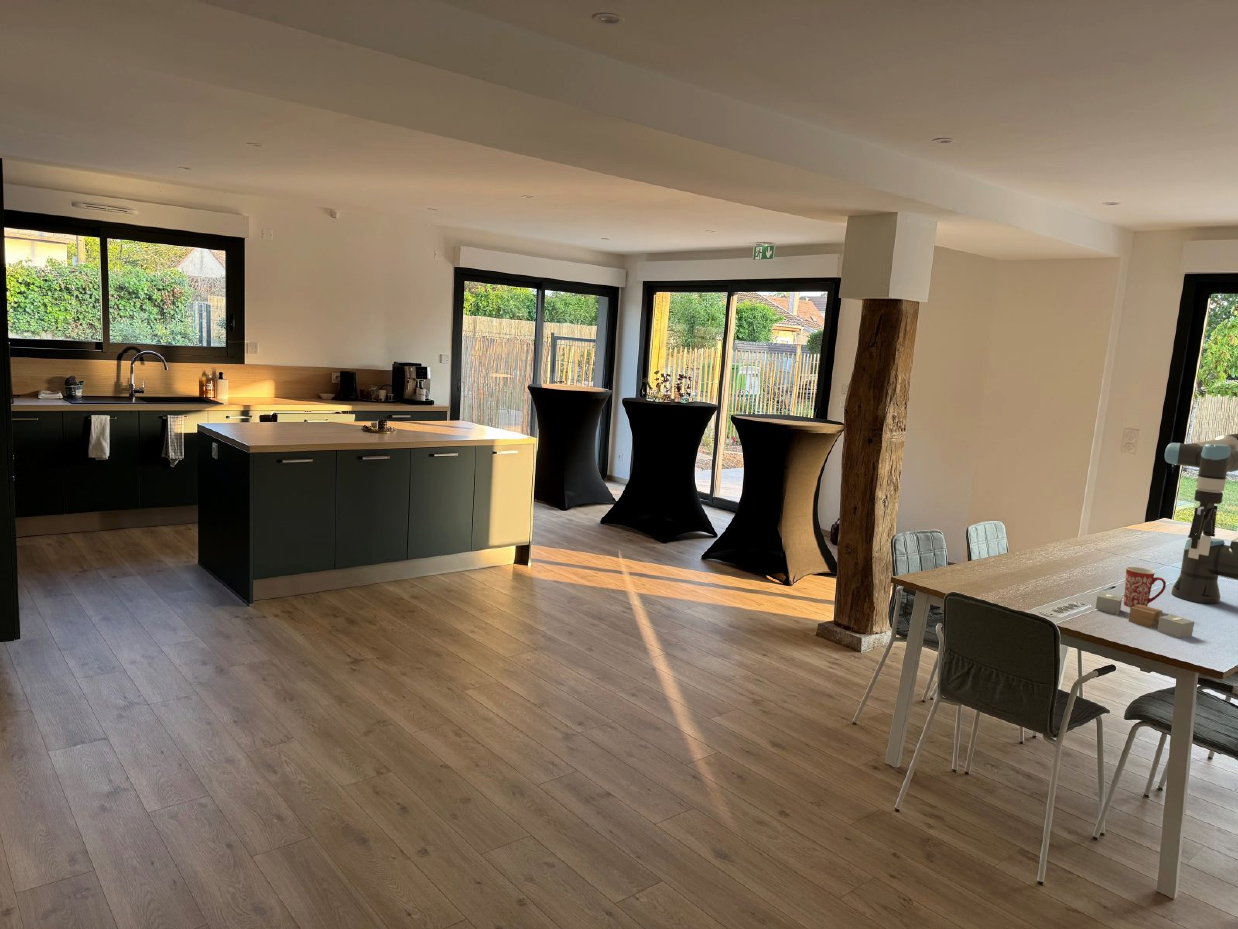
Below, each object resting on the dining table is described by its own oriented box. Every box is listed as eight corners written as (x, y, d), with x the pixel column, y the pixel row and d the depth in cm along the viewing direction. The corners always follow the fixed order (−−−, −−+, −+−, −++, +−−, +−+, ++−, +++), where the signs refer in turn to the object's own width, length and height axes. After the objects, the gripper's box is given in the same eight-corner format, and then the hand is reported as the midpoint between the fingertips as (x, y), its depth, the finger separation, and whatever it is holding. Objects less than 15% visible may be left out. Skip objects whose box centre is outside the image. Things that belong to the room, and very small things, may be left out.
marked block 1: (1097, 605, 296) (1099, 591, 295) (1120, 610, 292) (1122, 596, 291) (1095, 610, 290) (1097, 595, 289) (1118, 614, 286) (1120, 600, 285)
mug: (1119, 606, 296) (1125, 569, 294) (1121, 600, 303) (1126, 564, 301) (1161, 614, 289) (1167, 577, 287) (1161, 608, 296) (1167, 572, 294)
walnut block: (1137, 618, 283) (1139, 604, 282) (1159, 624, 278) (1162, 610, 277) (1128, 621, 279) (1130, 607, 278) (1151, 628, 273) (1153, 613, 273)
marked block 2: (1169, 629, 273) (1171, 614, 273) (1191, 636, 267) (1194, 621, 267) (1157, 631, 270) (1159, 616, 269) (1179, 639, 264) (1182, 623, 263)
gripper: (1207, 486, 283) (1196, 550, 287) (1184, 490, 270) (1173, 557, 273) (1233, 490, 277) (1222, 555, 281) (1211, 494, 264) (1199, 563, 268)
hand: (1198, 556), depth 277 cm, fingers open, 9 cm apart
